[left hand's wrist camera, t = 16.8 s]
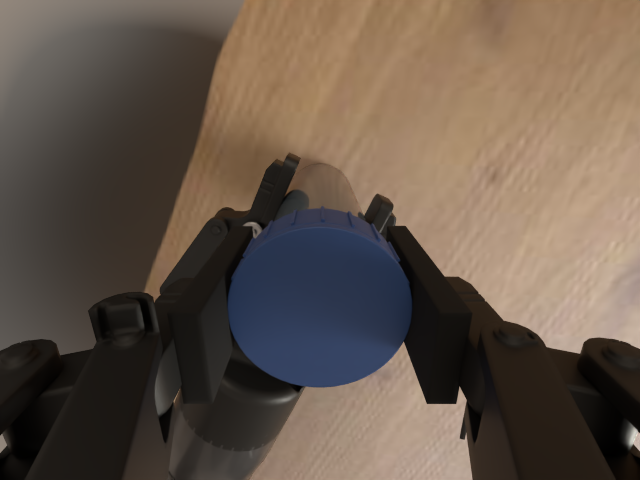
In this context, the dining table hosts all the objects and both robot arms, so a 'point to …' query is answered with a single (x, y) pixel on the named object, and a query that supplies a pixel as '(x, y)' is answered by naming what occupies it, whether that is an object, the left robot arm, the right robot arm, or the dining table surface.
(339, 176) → the jar
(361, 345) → the lid
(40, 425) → the left robot arm
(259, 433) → the right robot arm
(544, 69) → the dining table surface
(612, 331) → the dining table surface
